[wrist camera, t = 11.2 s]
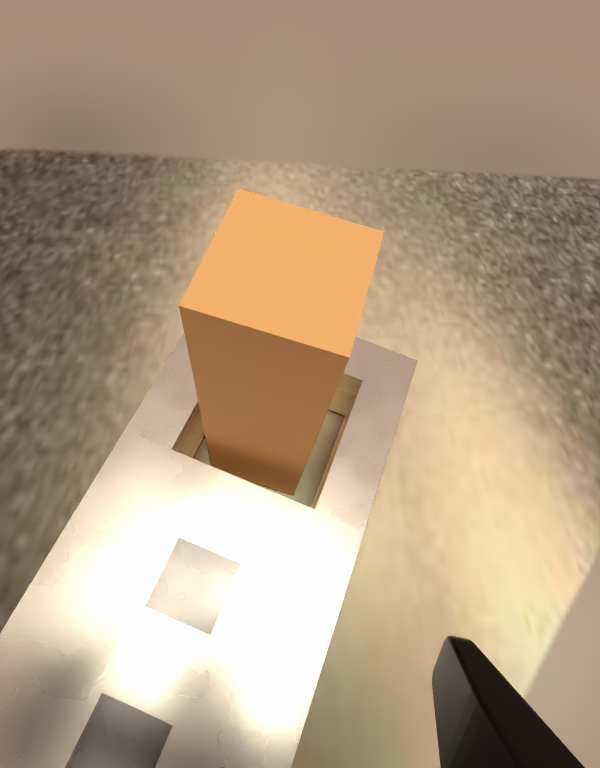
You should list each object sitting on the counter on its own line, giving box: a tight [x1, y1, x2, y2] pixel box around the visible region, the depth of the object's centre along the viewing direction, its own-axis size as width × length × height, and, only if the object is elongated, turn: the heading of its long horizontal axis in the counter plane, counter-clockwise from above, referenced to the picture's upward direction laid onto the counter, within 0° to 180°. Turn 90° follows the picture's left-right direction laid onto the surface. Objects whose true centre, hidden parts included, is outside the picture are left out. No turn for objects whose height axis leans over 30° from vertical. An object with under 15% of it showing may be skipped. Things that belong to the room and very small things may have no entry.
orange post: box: [179, 189, 384, 495], centre depth 17 cm, size 4×4×13 cm
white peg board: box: [0, 333, 417, 768], centre depth 19 cm, size 20×10×4 cm, turn 159°
